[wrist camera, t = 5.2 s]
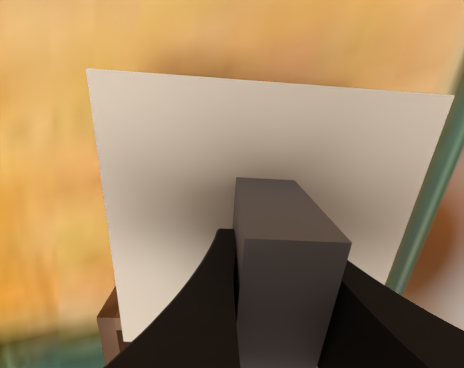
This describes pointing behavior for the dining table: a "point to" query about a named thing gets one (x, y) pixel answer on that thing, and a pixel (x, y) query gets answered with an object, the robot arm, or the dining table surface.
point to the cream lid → (257, 194)
